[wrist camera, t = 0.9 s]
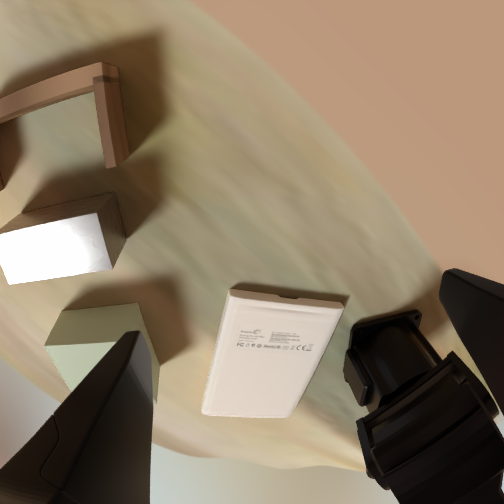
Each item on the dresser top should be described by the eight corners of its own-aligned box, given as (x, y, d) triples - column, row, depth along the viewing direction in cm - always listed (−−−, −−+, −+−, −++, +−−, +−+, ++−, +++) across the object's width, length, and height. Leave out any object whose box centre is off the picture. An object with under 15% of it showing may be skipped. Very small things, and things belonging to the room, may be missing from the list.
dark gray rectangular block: (115, 192, 17) (96, 212, 14) (126, 240, 18) (112, 269, 15) (19, 214, 16) (-9, 236, 13) (32, 256, 18) (9, 284, 15)
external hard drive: (200, 400, 26) (228, 283, 21) (287, 404, 28) (338, 297, 23) (201, 415, 25) (230, 297, 20) (291, 417, 27) (346, 310, 22)
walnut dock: (117, 67, 14) (101, 61, 11) (130, 155, 16) (116, 166, 14) (-16, 115, 13) (-44, 121, 11) (-2, 190, 15) (-27, 206, 13)
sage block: (138, 301, 21) (127, 340, 17) (160, 364, 23) (156, 404, 20) (62, 309, 20) (43, 345, 16) (91, 368, 23) (81, 405, 19)
